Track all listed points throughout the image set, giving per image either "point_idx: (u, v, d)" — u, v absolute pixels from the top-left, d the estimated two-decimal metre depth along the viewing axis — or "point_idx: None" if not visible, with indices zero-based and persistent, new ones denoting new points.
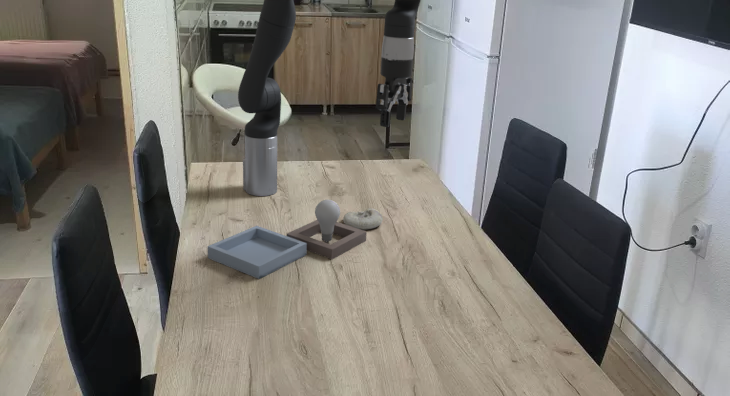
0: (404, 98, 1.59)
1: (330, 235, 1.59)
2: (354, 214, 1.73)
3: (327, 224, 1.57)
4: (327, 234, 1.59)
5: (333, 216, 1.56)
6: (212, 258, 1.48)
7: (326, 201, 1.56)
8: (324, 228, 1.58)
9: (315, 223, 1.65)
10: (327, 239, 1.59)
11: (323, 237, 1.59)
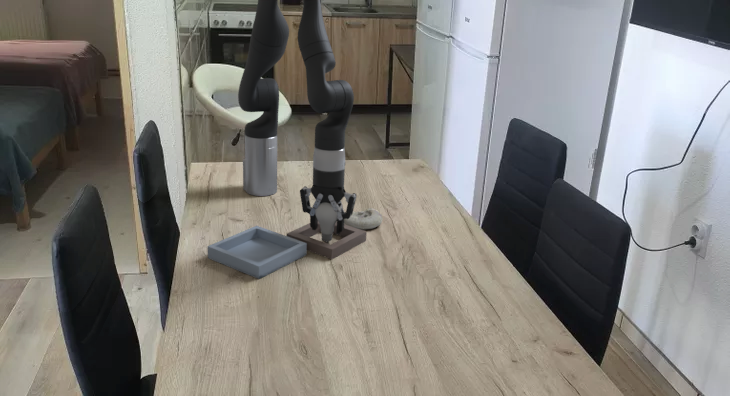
0: None
1: (330, 235, 1.59)
2: (354, 214, 1.73)
3: (327, 224, 1.57)
4: (327, 234, 1.59)
5: (333, 216, 1.55)
6: (212, 258, 1.48)
7: None
8: (324, 228, 1.58)
9: None
10: (327, 239, 1.59)
11: (323, 237, 1.59)
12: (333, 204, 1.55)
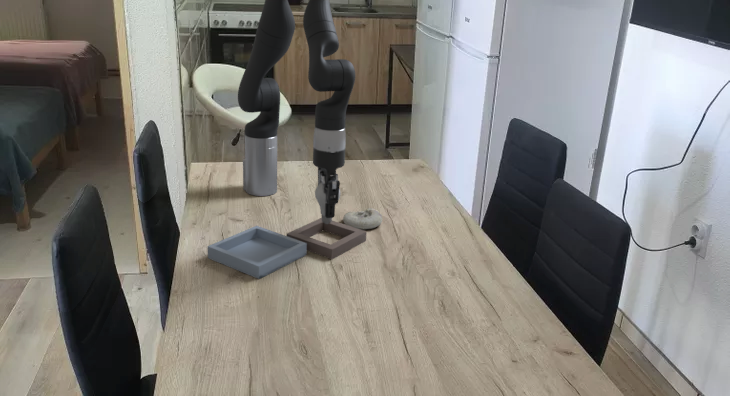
0: None
1: (325, 217, 1.57)
2: (354, 214, 1.73)
3: (319, 204, 1.56)
4: (322, 214, 1.58)
5: (321, 197, 1.54)
6: (212, 258, 1.48)
7: None
8: (320, 208, 1.57)
9: (315, 223, 1.65)
10: (322, 220, 1.58)
11: None
12: (322, 185, 1.53)
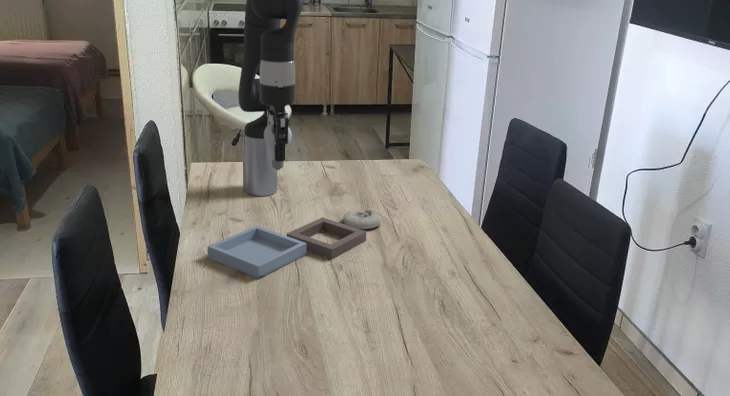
0: None
1: (275, 162, 1.44)
2: (354, 214, 1.73)
3: (268, 146, 1.43)
4: (272, 159, 1.44)
5: (270, 138, 1.41)
6: (212, 258, 1.48)
7: None
8: (270, 152, 1.44)
9: (315, 223, 1.65)
10: (273, 165, 1.45)
11: None
12: (271, 125, 1.40)
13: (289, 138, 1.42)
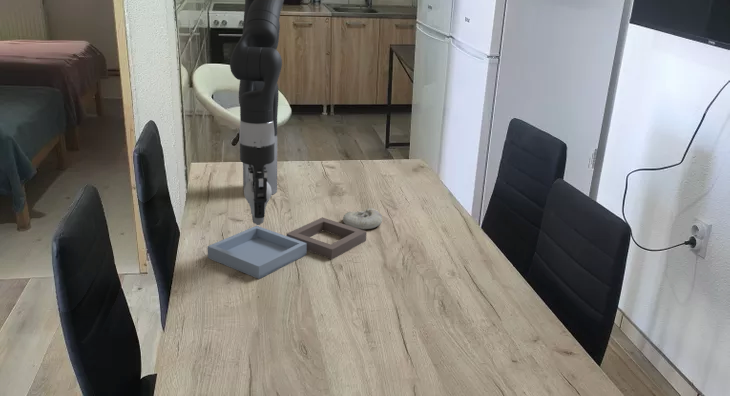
0: None
1: None
2: (354, 214, 1.73)
3: None
4: (252, 215, 1.47)
5: (249, 195, 1.43)
6: (212, 258, 1.48)
7: None
8: (250, 207, 1.47)
9: (315, 223, 1.65)
10: (253, 220, 1.47)
11: None
12: None
13: (268, 195, 1.44)
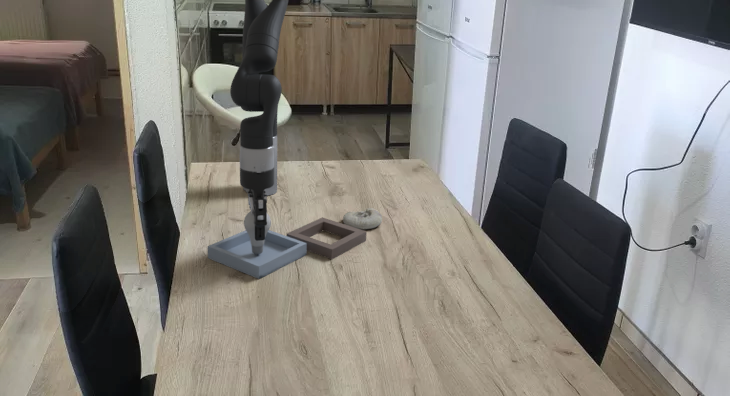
0: None
1: (255, 248, 1.49)
2: (354, 214, 1.73)
3: (248, 233, 1.48)
4: (252, 245, 1.49)
5: (249, 226, 1.45)
6: (212, 258, 1.48)
7: None
8: None
9: (315, 223, 1.65)
10: (252, 250, 1.49)
11: None
12: (250, 206, 1.44)
13: (268, 226, 1.47)
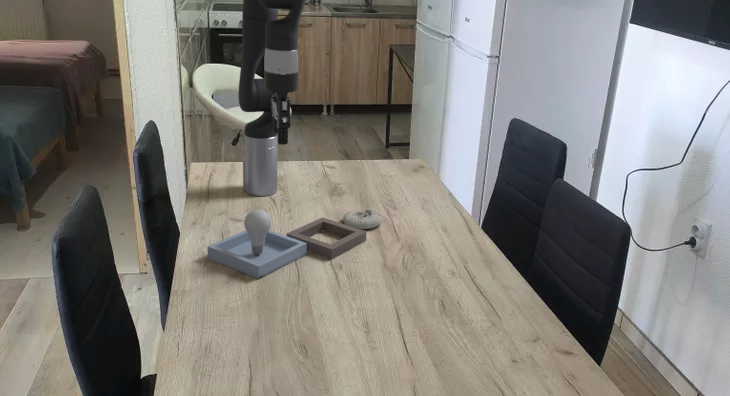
0: None
1: (255, 248, 1.49)
2: (354, 214, 1.73)
3: None
4: (252, 245, 1.49)
5: (249, 227, 1.45)
6: (212, 258, 1.48)
7: (254, 210, 1.47)
8: (250, 238, 1.49)
9: (315, 223, 1.65)
10: (252, 250, 1.49)
11: None
12: (274, 110, 1.46)
13: (268, 226, 1.47)
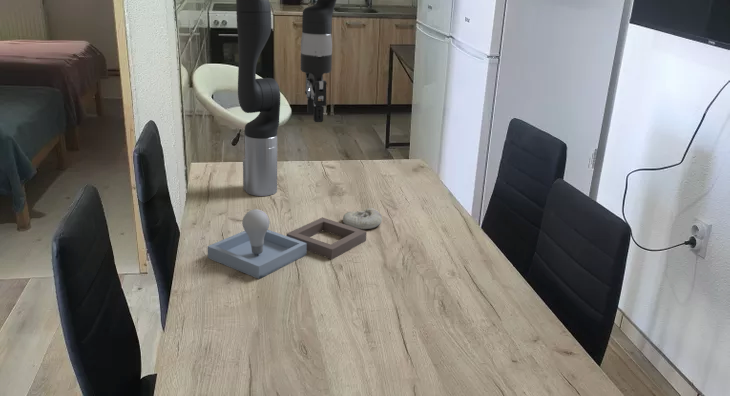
0: None
1: (254, 248, 1.49)
2: (353, 214, 1.73)
3: None
4: (251, 245, 1.49)
5: (247, 227, 1.45)
6: (212, 258, 1.48)
7: (252, 210, 1.47)
8: (249, 238, 1.49)
9: (315, 223, 1.65)
10: (252, 251, 1.49)
11: None
12: (310, 90, 1.58)
13: (266, 226, 1.47)
